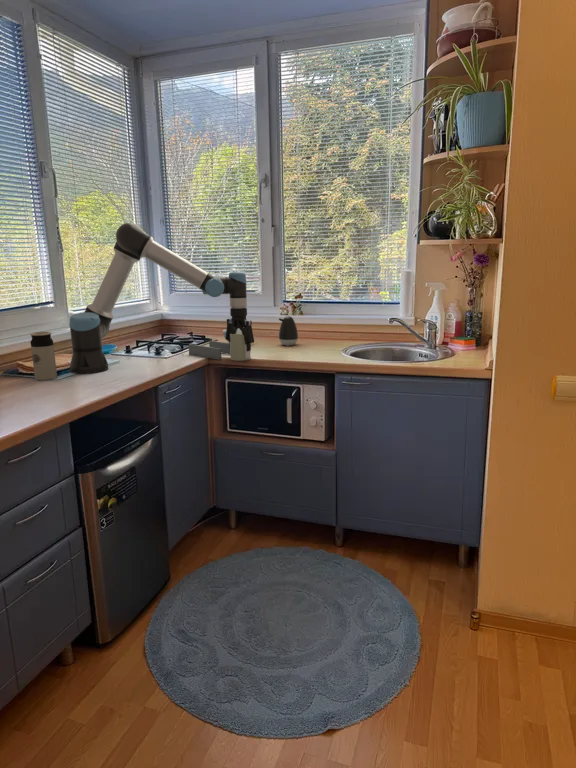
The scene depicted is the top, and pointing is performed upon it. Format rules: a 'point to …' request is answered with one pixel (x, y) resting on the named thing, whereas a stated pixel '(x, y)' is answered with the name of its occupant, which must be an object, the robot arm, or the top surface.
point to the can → (238, 347)
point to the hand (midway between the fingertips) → (240, 356)
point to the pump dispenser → (288, 331)
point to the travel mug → (43, 356)
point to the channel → (210, 350)
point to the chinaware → (228, 336)
